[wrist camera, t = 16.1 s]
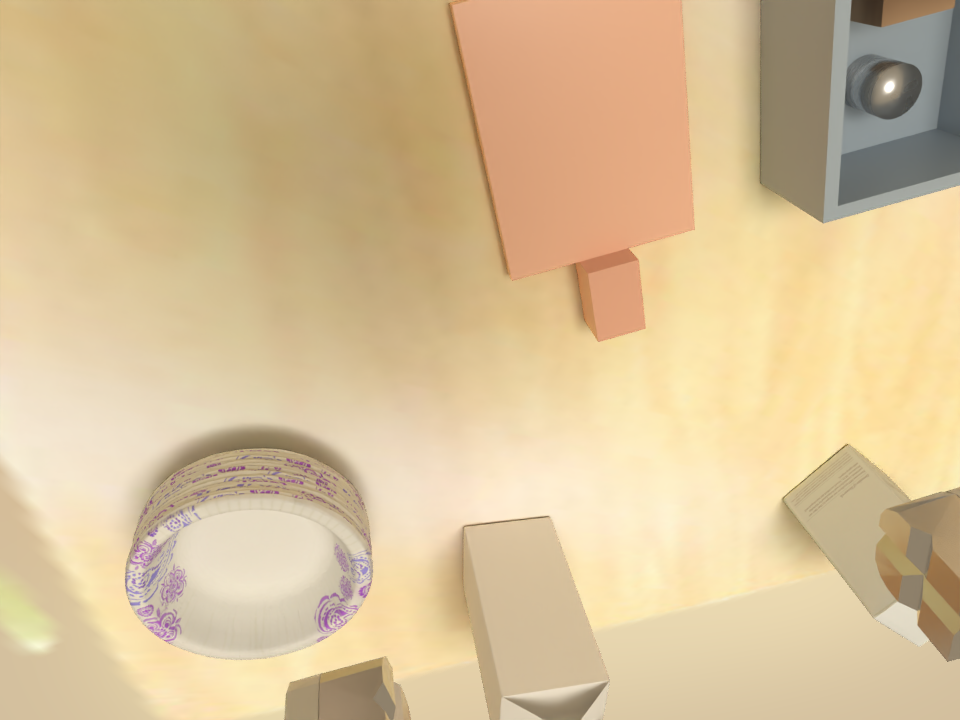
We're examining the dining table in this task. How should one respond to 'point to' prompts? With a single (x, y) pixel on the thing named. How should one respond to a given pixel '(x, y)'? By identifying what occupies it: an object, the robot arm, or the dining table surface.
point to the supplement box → (854, 530)
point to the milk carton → (530, 625)
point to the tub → (848, 131)
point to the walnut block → (894, 10)
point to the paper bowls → (250, 555)
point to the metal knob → (882, 86)
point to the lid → (581, 138)
